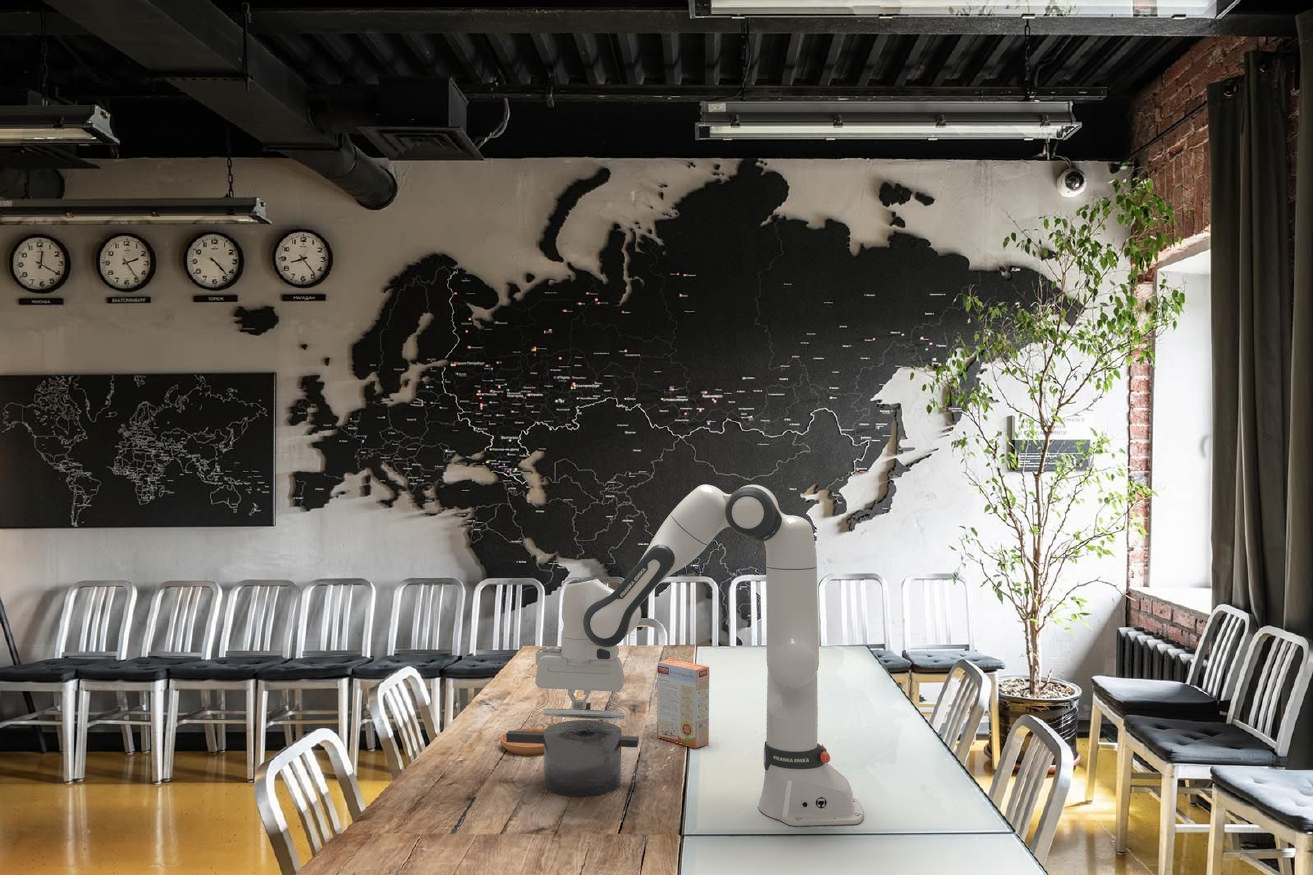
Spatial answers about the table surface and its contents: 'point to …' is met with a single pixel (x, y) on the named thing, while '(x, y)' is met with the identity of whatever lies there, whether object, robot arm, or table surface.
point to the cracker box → (683, 703)
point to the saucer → (523, 744)
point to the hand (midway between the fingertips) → (579, 708)
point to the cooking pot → (579, 756)
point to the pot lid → (584, 713)
